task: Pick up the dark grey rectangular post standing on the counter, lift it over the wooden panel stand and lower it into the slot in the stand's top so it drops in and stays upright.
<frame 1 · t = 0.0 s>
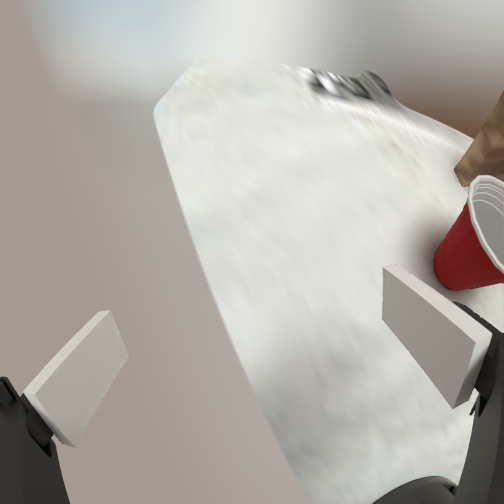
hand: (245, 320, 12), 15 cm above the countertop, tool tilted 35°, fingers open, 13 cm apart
plastic cup: (450, 266, 26), on the countertop
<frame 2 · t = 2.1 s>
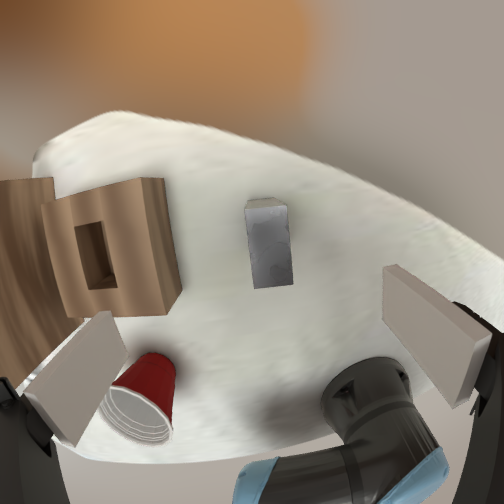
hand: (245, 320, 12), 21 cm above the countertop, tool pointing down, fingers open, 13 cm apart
wooden panel stand: (122, 243, 32), on the countertop
plastic cup: (156, 365, 37), on the countertop
dark grey rectangular post: (263, 224, 32), on the countertop
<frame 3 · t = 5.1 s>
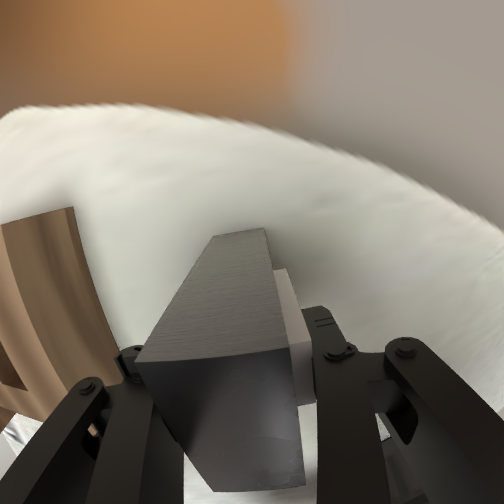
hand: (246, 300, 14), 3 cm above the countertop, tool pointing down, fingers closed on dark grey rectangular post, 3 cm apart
wooden panel stand: (41, 307, 18), on the countertop
dark grey rectangular post: (247, 279, 17), on the countertop, touching gripper
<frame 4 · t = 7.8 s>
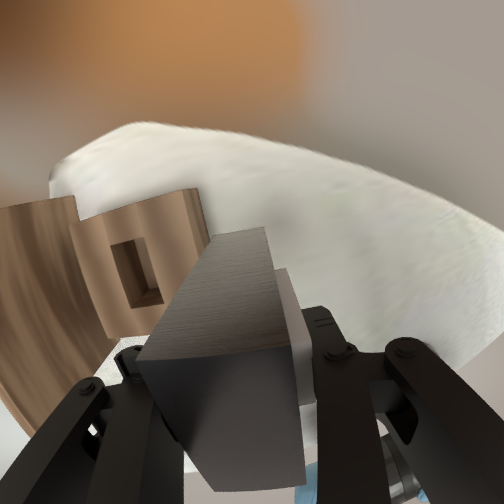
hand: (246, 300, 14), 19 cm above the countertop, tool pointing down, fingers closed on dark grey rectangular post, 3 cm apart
wooden panel stand: (157, 256, 33), on the countertop
dark grey rectangular post: (247, 278, 17), point 16 cm above the countertop, touching gripper
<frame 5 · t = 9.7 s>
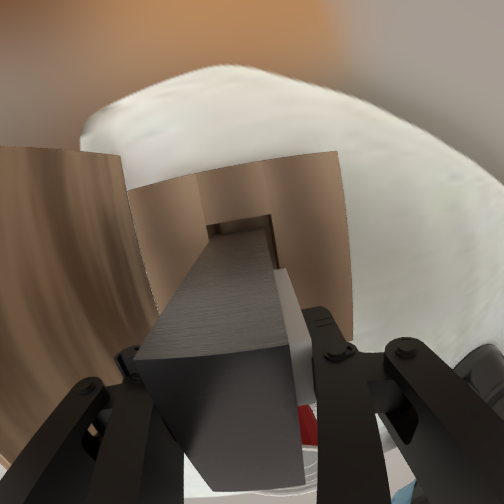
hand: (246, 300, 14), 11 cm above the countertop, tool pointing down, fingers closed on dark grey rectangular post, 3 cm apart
wooden panel stand: (249, 247, 25), on the countertop
plastic cup: (277, 397, 30), on the countertop
dark grey rectangular post: (247, 278, 17), point 8 cm above the countertop, touching gripper
when the fingers open (8 cm above the countertop, at t = 10.9 s): dark grey rectangular post drops 4 cm, resting on wooden panel stand.
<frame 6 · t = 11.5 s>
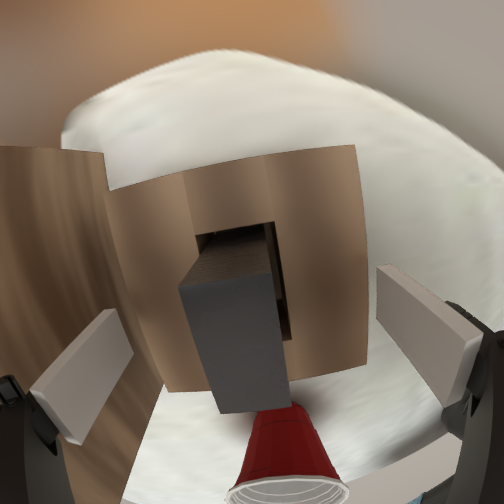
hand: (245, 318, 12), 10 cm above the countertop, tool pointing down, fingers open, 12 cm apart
wooden panel stand: (248, 257, 22), on the countertop
plastic cup: (278, 415, 27), on the countertop
dark grey rectangular post: (249, 260, 21), point 1 cm above the countertop, touching wooden panel stand
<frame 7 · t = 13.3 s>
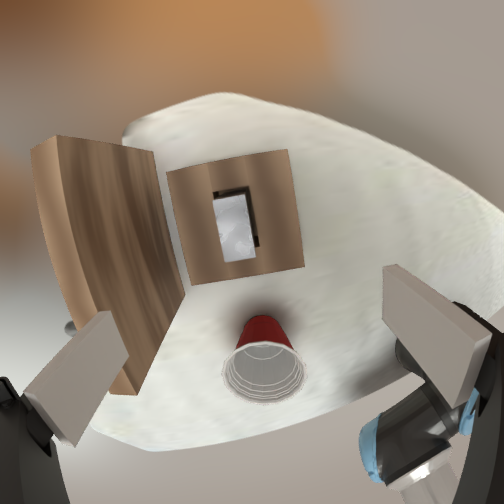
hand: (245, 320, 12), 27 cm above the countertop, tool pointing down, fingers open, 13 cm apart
wooden panel stand: (238, 211, 38), on the countertop
plastic cup: (260, 329, 43), on the countertop
dark grey rectangular post: (239, 212, 37), point 1 cm above the countertop, touching wooden panel stand
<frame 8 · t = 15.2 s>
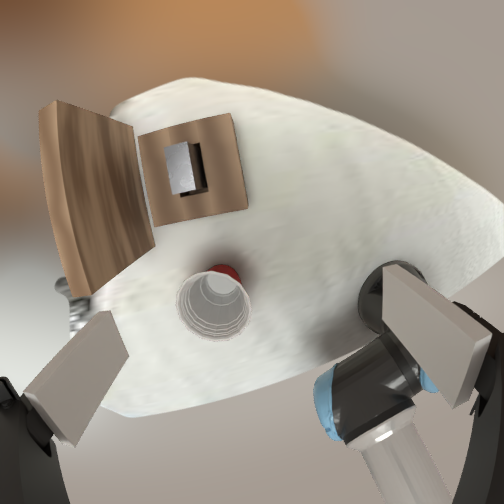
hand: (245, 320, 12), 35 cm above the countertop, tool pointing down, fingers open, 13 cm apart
wooden panel stand: (199, 171, 43), on the countertop
plastic cup: (221, 278, 49), on the countertop
dark grey rectangular post: (198, 170, 43), point 1 cm above the countertop, touching wooden panel stand
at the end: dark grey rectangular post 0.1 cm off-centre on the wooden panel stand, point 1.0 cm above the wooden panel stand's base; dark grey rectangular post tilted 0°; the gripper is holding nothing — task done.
